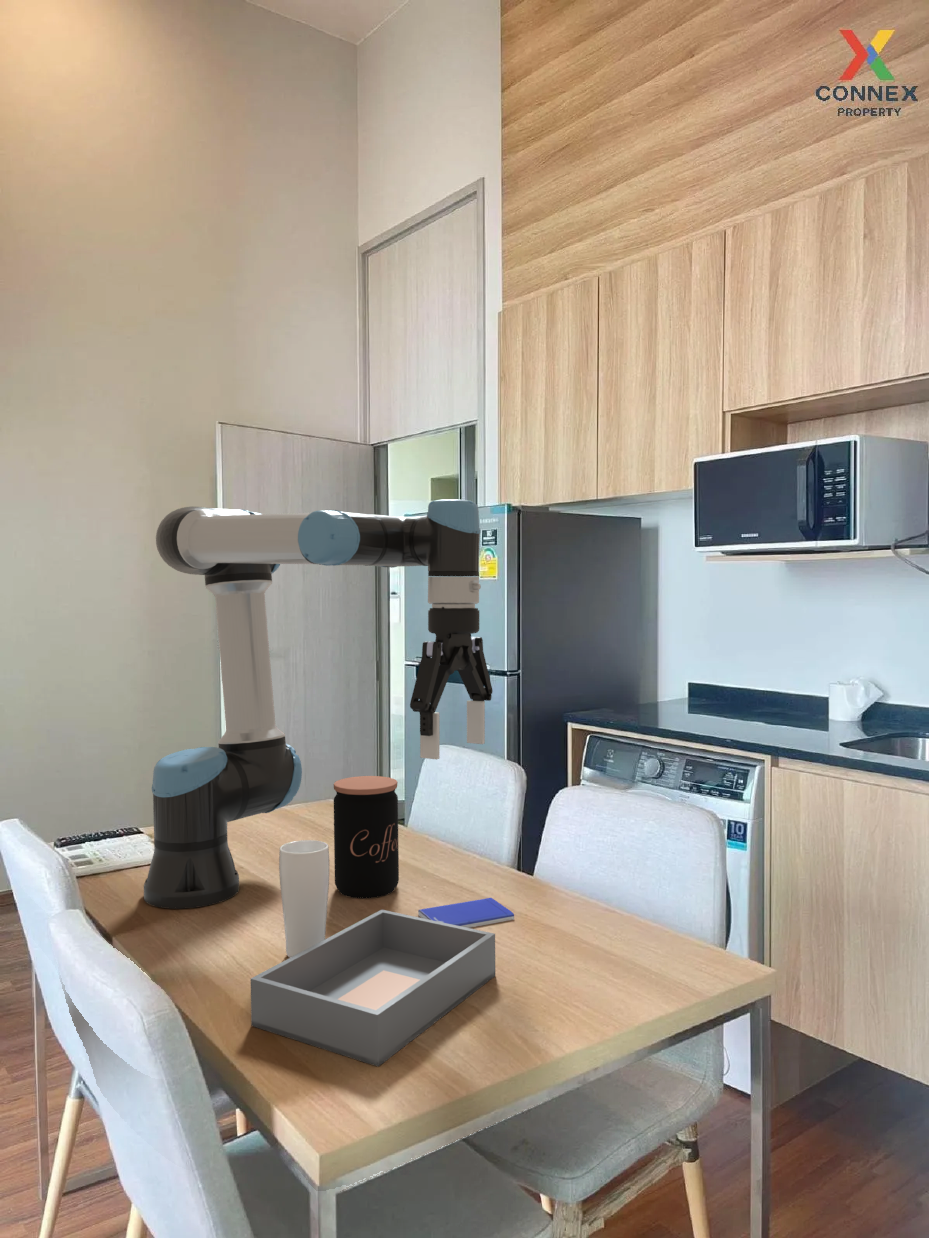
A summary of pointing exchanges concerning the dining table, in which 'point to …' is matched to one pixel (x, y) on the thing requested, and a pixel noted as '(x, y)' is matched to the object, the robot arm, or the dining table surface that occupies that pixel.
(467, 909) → the hard drive
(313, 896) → the drinking glass
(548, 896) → the dining table surface
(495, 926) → the dining table surface
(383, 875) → the coffee jar
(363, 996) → the walled box
